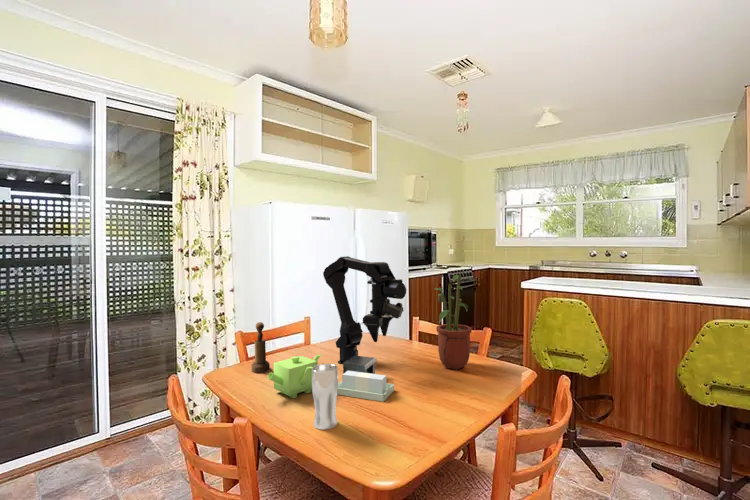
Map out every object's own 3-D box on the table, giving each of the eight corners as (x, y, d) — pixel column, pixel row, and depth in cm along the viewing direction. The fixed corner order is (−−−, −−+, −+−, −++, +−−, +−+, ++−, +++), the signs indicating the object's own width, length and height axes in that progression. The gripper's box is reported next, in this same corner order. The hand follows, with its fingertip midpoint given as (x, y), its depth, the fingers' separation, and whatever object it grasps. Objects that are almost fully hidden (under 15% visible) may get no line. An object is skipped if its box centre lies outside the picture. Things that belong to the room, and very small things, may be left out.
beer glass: (313, 418, 103) (312, 363, 103) (339, 417, 104) (338, 362, 103) (311, 431, 96) (310, 372, 96) (338, 430, 97) (337, 371, 96)
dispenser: (343, 382, 130) (343, 362, 130) (354, 373, 138) (354, 355, 138) (366, 385, 126) (366, 365, 126) (376, 376, 135) (376, 357, 135)
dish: (333, 393, 120) (332, 387, 120) (346, 383, 128) (345, 377, 128) (384, 401, 113) (384, 395, 113) (394, 390, 122) (394, 384, 122)
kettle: (322, 382, 129) (321, 350, 129) (317, 400, 115) (316, 363, 115) (278, 383, 129) (277, 350, 129) (267, 401, 115) (266, 364, 115)
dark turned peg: (247, 371, 141) (246, 323, 141) (259, 366, 147) (258, 320, 147) (262, 373, 139) (261, 324, 138) (273, 368, 145) (272, 321, 144)
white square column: (342, 390, 121) (342, 374, 121) (348, 385, 125) (347, 370, 125) (382, 396, 116) (381, 379, 116) (386, 391, 120) (386, 375, 120)
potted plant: (478, 366, 144) (478, 274, 143) (455, 377, 133) (454, 277, 133) (440, 356, 157) (440, 272, 156) (416, 365, 146) (415, 274, 145)
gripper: (392, 301, 128) (392, 347, 128) (408, 294, 145) (408, 334, 146) (361, 299, 132) (362, 344, 132) (380, 292, 149) (381, 332, 150)
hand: (380, 338), depth 140 cm, fingers open, 9 cm apart
